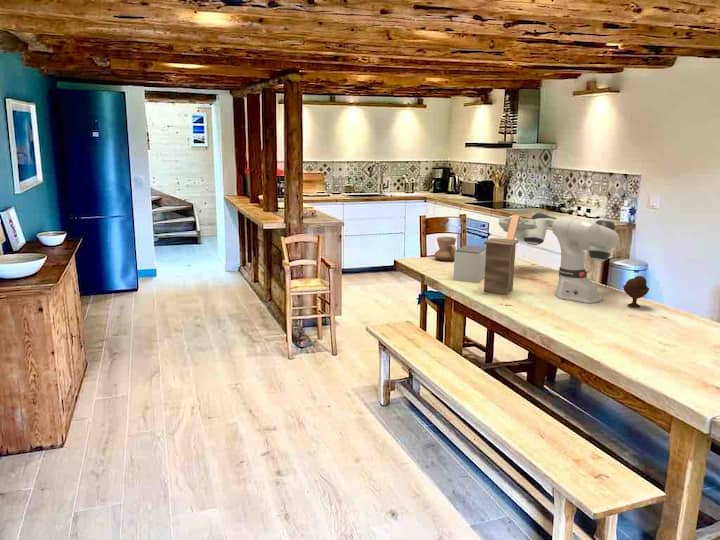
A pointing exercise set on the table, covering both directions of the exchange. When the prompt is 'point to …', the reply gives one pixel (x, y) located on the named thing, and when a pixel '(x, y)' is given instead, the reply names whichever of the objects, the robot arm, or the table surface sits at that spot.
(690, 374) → the table surface
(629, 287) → the ice cream bowl
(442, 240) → the ceramic jug
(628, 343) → the table surface
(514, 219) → the terracotta block
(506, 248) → the walnut stand
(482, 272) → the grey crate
